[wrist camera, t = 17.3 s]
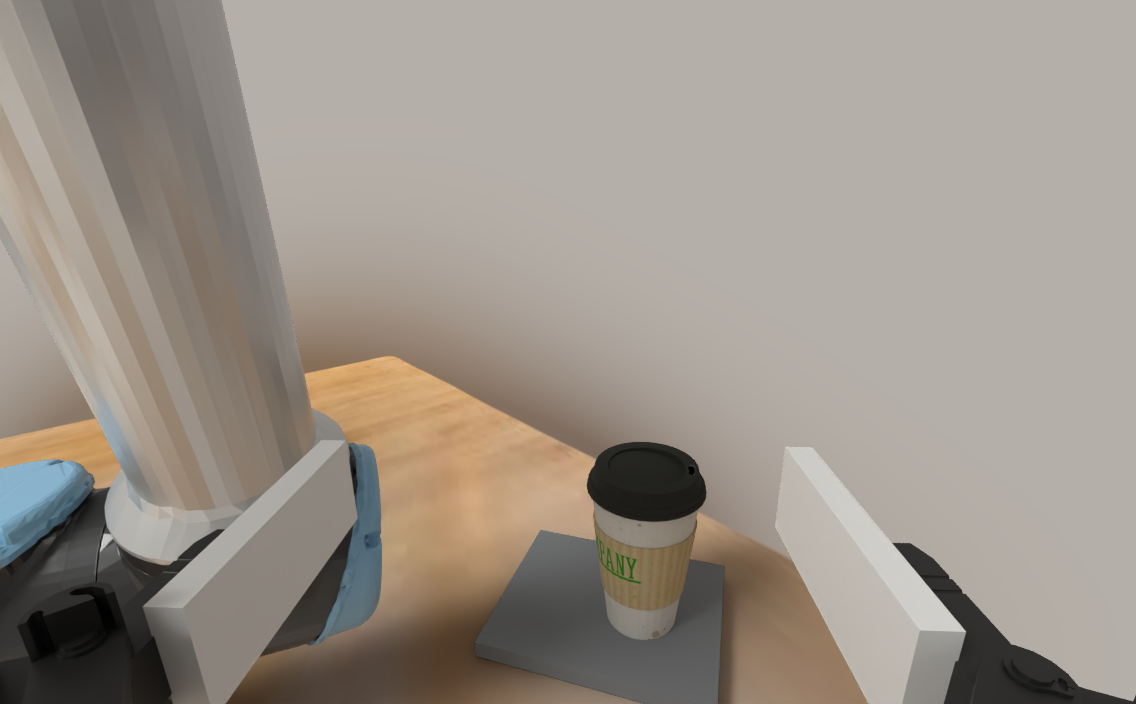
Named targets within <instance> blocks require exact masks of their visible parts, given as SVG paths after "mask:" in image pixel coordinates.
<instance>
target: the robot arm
mask: <svg viewBox="0 0 1136 704" xmlns="http://www.w3.org/2000/svg"><path fill="white" fill-rule="evenodd" d="M0 238H1V240H2V242H3V244H4V246H5V248H6V250H7V252H8V254H9V255H10V257H11V259H12V261H13V263H14V265H15V267H16V269H17V271H18V272H19V274H20V276H21V278H22V280H23V282H24V284H25V286H26V288H27V289H28V291H29V293H30V295H31V297H32V299H33V301H34V303H35V305H36V307H37V308H38V310H39V312H40V314H41V316H42V318H43V320H44V322H45V323H46V325H47V327H48V329H49V331H50V333H51V335H52V337H53V338H54V341H55V342H56V344H57V346H58V348H59V350H60V352H61V354H62V356H63V358H64V359H65V361H66V363H67V365H68V367H69V369H70V371H71V373H72V374H73V376H74V378H75V380H76V382H77V384H78V386H79V388H80V390H81V392H82V393H83V395H84V397H85V399H86V401H87V403H88V405H89V407H90V408H91V411H92V412H93V414H94V416H95V418H96V420H97V422H98V424H99V426H100V428H101V429H102V431H103V433H104V435H105V437H106V439H107V441H108V443H109V445H110V446H111V448H112V450H113V452H114V454H115V456H116V458H117V460H118V462H119V463H120V465H121V467H122V469H121V471H120V472H119V474H118V475H117V477H116V478H115V480H114V481H113V483H112V485H111V487H108V488H101V489H95V488H93V485H94V483H95V481H94V477H93V475H92V474H90V473H88V472H87V471H86V470H85V468H84V467H83V466H82V465H81V464H79V463H77V462H73V461H61V460H55V459H53V460H41V461H35V462H29V463H23V464H19V465H14V466H10V467H5V468H2V469H0V704H226V703H227V701H228V700H229V698H230V697H231V695H232V694H233V693H234V691H235V690H236V688H237V687H238V686H239V684H240V683H241V681H242V680H243V679H244V677H245V676H246V674H247V673H248V672H249V670H250V669H251V667H252V666H253V665H254V663H255V662H256V660H257V659H258V658H259V657H261V656H264V655H268V654H272V653H275V652H279V651H283V650H286V649H290V648H294V647H297V646H301V645H305V644H308V645H314V644H318V643H320V642H322V641H323V640H324V639H325V638H326V637H329V636H332V635H334V634H337V633H340V632H343V631H346V630H349V629H352V628H355V627H357V626H360V625H361V624H363V623H364V622H366V621H367V620H368V619H369V618H370V617H371V616H372V614H373V613H374V611H375V609H376V607H377V605H378V602H379V597H380V591H381V578H382V544H381V538H380V534H381V503H380V489H379V478H378V469H377V463H376V458H375V454H374V451H373V450H372V449H371V448H370V447H369V446H367V445H357V444H355V443H349V444H348V442H347V440H346V438H345V435H344V433H343V431H342V429H341V428H340V427H339V425H338V424H337V423H336V422H335V421H334V420H332V419H331V418H330V417H328V416H327V415H325V414H323V413H322V412H320V411H318V410H315V409H313V408H311V403H310V399H309V394H308V390H307V385H306V381H305V376H304V372H303V367H302V363H301V358H300V354H299V349H298V345H297V340H296V336H295V331H294V326H293V322H292V317H291V313H290V309H289V304H288V299H287V295H286V290H285V286H284V281H283V277H282V272H281V268H280V263H279V259H278V254H277V249H276V245H275V240H274V236H273V231H272V227H271V222H270V218H269V213H268V209H267V204H266V200H265V195H264V191H263V186H262V182H261V178H260V173H259V168H258V164H257V159H256V154H255V150H254V146H253V141H252V136H251V132H250V127H249V123H248V118H247V114H246V109H245V105H244V100H243V96H242V91H241V87H240V82H239V78H238V74H237V69H236V64H235V60H234V55H233V50H232V46H231V42H230V37H229V32H228V28H227V24H226V19H225V14H224V10H223V5H222V1H221V0H0ZM775 528H776V530H777V532H778V534H779V536H780V538H781V540H782V541H783V543H784V545H785V547H786V549H787V551H788V553H789V555H790V557H791V559H792V560H793V562H794V564H795V566H796V568H797V570H798V572H799V574H800V576H801V577H802V579H803V581H804V583H805V585H806V587H807V589H808V591H809V593H810V594H811V596H812V598H813V600H814V602H815V604H816V606H817V608H818V610H819V611H820V613H821V615H822V617H823V619H824V621H825V623H826V625H827V627H828V628H829V630H830V632H831V634H832V636H833V638H834V640H835V642H836V644H837V645H838V647H839V649H840V651H841V653H842V655H843V657H844V659H845V660H846V662H847V664H848V666H849V668H850V670H851V672H852V674H853V676H854V677H855V679H856V681H857V683H858V685H859V687H860V689H861V691H862V693H863V694H864V696H865V698H866V700H867V702H868V704H1136V696H1135V699H1134V701H1133V702H1132V701H1129V700H1125V699H1121V698H1117V697H1114V696H1110V695H1107V694H1103V693H1099V692H1095V691H1092V690H1088V689H1084V688H1081V687H1079V686H1078V685H1077V684H1076V683H1075V682H1074V681H1073V679H1072V678H1071V677H1070V676H1069V675H1068V674H1067V673H1066V672H1065V671H1063V670H1062V669H1061V668H1060V667H1058V666H1057V665H1056V664H1054V663H1053V662H1052V661H1050V660H1048V659H1046V658H1044V657H1043V656H1041V655H1039V654H1037V653H1035V652H1033V651H1030V650H1027V649H1024V648H1021V647H1018V646H1016V645H1011V644H1010V642H1009V641H1008V640H1007V639H1006V638H1005V637H1004V636H1003V635H1002V634H1001V633H1000V632H999V630H998V629H997V628H996V627H995V626H994V625H993V624H992V623H991V622H990V620H989V619H988V618H987V617H986V616H985V615H984V614H983V613H982V612H981V611H980V610H979V608H978V607H977V606H976V605H975V604H974V603H973V602H972V601H971V600H970V599H969V597H968V596H967V595H966V594H963V593H962V590H961V589H960V588H959V586H958V585H956V583H955V582H954V581H953V580H952V579H949V575H948V574H947V573H946V572H945V571H944V570H943V569H942V568H941V567H940V566H939V564H938V563H937V562H936V561H935V560H934V559H933V558H931V557H930V556H928V555H927V554H926V553H924V552H923V551H921V550H920V549H918V548H916V547H915V546H913V545H912V544H910V543H892V542H891V541H890V540H889V539H888V538H887V536H886V535H885V534H884V533H883V532H882V530H881V529H880V528H879V527H878V526H877V524H876V523H875V522H874V521H873V520H872V518H871V517H870V516H869V515H868V514H867V512H866V511H865V510H864V509H863V508H862V507H861V505H860V504H859V503H858V502H857V500H856V499H855V498H854V497H853V496H852V495H851V493H850V492H849V491H848V490H847V489H846V487H845V486H844V485H843V484H842V483H841V481H840V480H839V479H838V478H837V477H836V476H835V474H834V473H833V472H832V471H831V469H830V468H829V467H828V466H827V465H826V463H825V462H824V461H823V460H822V459H821V457H820V456H819V455H818V454H817V453H816V452H815V450H814V449H813V448H812V447H785V453H784V461H783V469H782V477H781V484H780V492H779V499H778V508H777V515H776V523H775Z"/></svg>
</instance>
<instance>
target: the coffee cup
mask: <svg viewBox="0 0 1136 704" xmlns="http://www.w3.org/2000/svg"><path fill="white" fill-rule="evenodd" d="M694 474H695V475H694ZM587 489H588V493H589V495H590V496H591V498H592V499H593V501H594V514H593V518H594V526H595V534H596V542H597V550H598V558H599V566H600V574H601V581H602V585H603V587H604V593H605V602H606V610H607V616H608V619H609V621H610V623H611V624H612V625H613V627H614V628H615V629H616V630H617V631H619V632H620V633H622V634H623V635H625V636H628V637H630V638H634V639H638V640H652V639H656V638H659V637H661V636H664V635H665V634H666V633H668V632H669V631H670V630H671V628H672V627H673V625H674V622H675V617H676V613H677V608H678V603H679V598H680V596H681V594H682V592H683V588H684V583H685V578H686V574H687V569H688V565H689V560H690V555H691V551H692V546H693V542H694V537H695V532H696V527H697V519H696V517H697V513H698V509H699V508H700V507H701V506H702V505H703V503H704V501H705V499H706V486H705V482H704V479H703V478H702V476H701V474H700V472H699V468H698V465H697V464H696V462H695V460H694V459H692V458H691V457H690V456H689V455H688V454H686V453H685V452H683V451H681V450H679V449H676V448H674V447H670V446H667V445H663V444H658V443H650V442H632V443H624V444H620V445H616V446H613V447H611V448H608V449H607V450H605V451H604V452H602V453H601V454H600V455H599V456H598V458H597V460H596V462H595V466H594V467H593V468H592V470H591V471H590V473H589V477H588V481H587Z"/></svg>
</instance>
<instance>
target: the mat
mask: <svg viewBox="0 0 1136 704" xmlns="http://www.w3.org/2000/svg"><path fill="white" fill-rule="evenodd" d="M723 586H724V566H722V565H717V564H712V563H706V562H701V561H696V560H691V559H690V560H689V565H688V569H687V574H686V578H685V583H684V588H683V592H682V594H681V596H680V598H679V603H678V608H677V613H676V617H675V622H674V625H673V627H672V628H671V630H670V631H669V632H668V633H666V634H665V635H664V636H661V637H659V638H656V639H652V640H638V639H634V638H630V637H628V636H625V635H623V634H622V633H620V632H619V631H617V630H616V629H615V628H614V627H613V625H612V624H611V623H610V621H609V619H608V616H607V610H606V602H605V593H604V587H603V585H602V581H601V574H600V566H599V558H598V550H597V542H596V541H594V540H589V539H584V538H579V537H574V536H568V535H563V534H558V533H553V532H548V531H543V530H540V532H539V534H538V535H537V537H536V539H535V540H534V542H533V544H532V545H531V547H530V549H529V551H528V552H527V554H526V556H525V557H524V559H523V561H522V562H521V564H520V566H519V568H518V569H517V571H516V573H515V574H514V576H513V578H512V579H511V581H510V583H509V585H508V586H507V588H506V590H505V591H504V593H503V595H502V596H501V598H500V600H499V602H498V603H497V605H496V607H495V608H494V610H493V612H492V613H491V615H490V617H489V619H488V620H487V622H486V624H485V625H484V627H483V629H482V630H481V632H480V634H479V636H478V637H477V639H476V641H475V654H476V656H478V657H481V658H485V659H488V660H492V661H495V662H499V663H502V664H506V665H509V666H513V667H517V668H520V669H524V670H527V671H531V672H534V673H538V674H541V675H545V676H548V677H552V678H556V679H559V680H563V681H566V682H570V683H573V684H577V685H580V686H584V687H587V688H591V689H595V690H598V691H602V692H605V693H609V694H612V695H616V696H619V697H623V698H627V699H630V700H634V701H637V702H641V703H644V704H718V686H719V666H720V646H721V626H722V606H723Z"/></svg>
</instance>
